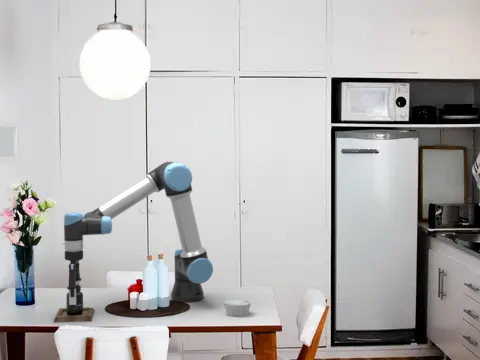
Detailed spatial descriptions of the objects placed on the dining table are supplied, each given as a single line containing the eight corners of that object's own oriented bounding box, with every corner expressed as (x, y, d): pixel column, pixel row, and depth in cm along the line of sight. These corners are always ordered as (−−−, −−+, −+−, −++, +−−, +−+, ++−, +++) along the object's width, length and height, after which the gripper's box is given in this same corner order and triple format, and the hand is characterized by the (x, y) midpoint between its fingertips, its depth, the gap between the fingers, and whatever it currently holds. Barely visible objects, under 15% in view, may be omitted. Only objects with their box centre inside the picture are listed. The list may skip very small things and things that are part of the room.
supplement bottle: (79, 316, 297) (78, 288, 296) (63, 316, 298) (63, 287, 297) (86, 312, 303) (85, 284, 302) (70, 311, 305) (70, 283, 304)
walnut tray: (94, 311, 309) (94, 307, 309) (91, 321, 294) (91, 316, 294) (58, 312, 307) (58, 307, 307) (53, 322, 292) (53, 317, 292)
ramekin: (252, 316, 302) (252, 304, 301) (226, 318, 300) (226, 305, 300) (248, 310, 313) (248, 298, 312) (222, 311, 311) (222, 299, 311)
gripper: (68, 245, 310) (69, 293, 312) (60, 255, 286) (61, 308, 287) (86, 244, 311) (86, 293, 313) (79, 255, 287) (80, 307, 288)
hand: (74, 300), depth 300 cm, fingers open, 13 cm apart
